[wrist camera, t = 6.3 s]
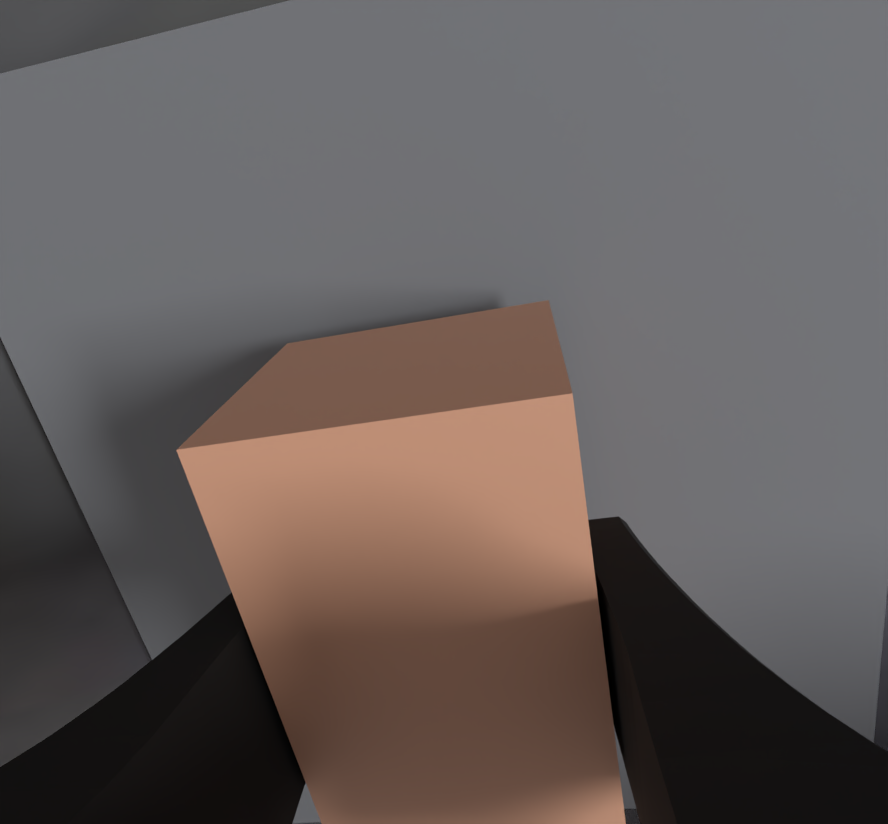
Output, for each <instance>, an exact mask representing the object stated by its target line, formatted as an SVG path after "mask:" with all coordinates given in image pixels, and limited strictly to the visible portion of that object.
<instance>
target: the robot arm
mask: <svg viewBox="0 0 888 824" xmlns="http://www.w3.org/2000/svg"><path fill="white" fill-rule="evenodd" d="M588 522H589V530H590V538H591V546H592V554H593V563H594V571H595V579H596V587H597V595H598V603H599V611H600V619H601V627H602V635H603V643H604V651H605V660H606V668H607V676H608V684H609V692H610V700H611V708H612V716H613V724H614V728H615V732H616V736H617V739H618V743H619V746H620V750H621V754H622V757H623V761H624V765H625V768H626V772H627V776H628V779H629V783H630V787H631V790H632V794H633V798H634V801H635V805H636V809H637V812H638V816H639V820H640V823H641V824H888V752H887V751H886V750H884V749H883V748H881V747H880V746H878V745H876V744H875V743H873V742H872V741H870V740H869V739H867V738H866V737H864V736H863V735H861V734H860V733H858V732H857V731H855V730H854V729H852V728H850V727H849V726H847V725H846V724H844V723H843V722H841V721H840V720H838V719H837V718H835V717H834V716H832V715H831V714H829V713H828V712H826V711H825V710H823V709H822V708H821V707H819V706H818V705H817V704H815V703H814V702H813V701H811V700H810V699H808V698H807V697H806V696H804V695H803V694H802V693H800V692H799V691H797V690H796V689H795V688H793V687H792V686H791V685H789V684H788V683H787V682H786V681H784V680H783V679H782V678H781V677H779V676H778V675H777V674H775V673H774V672H773V671H772V670H770V669H769V668H768V667H767V666H765V665H764V664H763V663H762V662H760V661H759V660H758V659H757V658H756V657H754V656H753V655H752V654H751V653H750V652H748V651H747V650H746V649H745V648H744V647H743V646H741V645H740V644H739V643H738V642H737V641H736V640H734V639H733V638H732V637H731V636H730V635H729V634H728V633H727V632H726V631H725V630H723V629H722V628H721V627H720V626H719V625H718V624H717V623H716V622H715V621H714V620H713V619H711V618H710V617H709V616H708V615H707V614H706V613H705V612H704V611H703V610H702V609H701V608H700V607H699V606H698V605H697V604H696V603H695V602H694V601H693V600H692V599H691V598H690V597H689V596H688V595H687V594H686V593H685V592H684V591H683V590H682V589H681V587H680V586H679V585H678V584H677V583H676V582H675V581H674V580H673V579H672V578H671V577H670V576H669V575H668V574H667V573H666V572H665V570H664V569H663V568H662V567H661V566H660V565H659V564H658V563H657V561H656V560H655V559H654V558H653V557H652V555H651V554H650V553H649V552H648V551H647V549H646V548H645V547H644V546H643V544H642V543H641V542H640V541H639V539H638V538H637V537H636V535H635V534H634V533H633V531H632V530H631V529H630V527H629V526H628V524H627V522H625V521H624V520H623V519H621V518H620V517H619V516H618V517H609V518H600V519H591V520H588ZM305 783H306V782H305V779H304V777H303V774H302V772H301V769H300V766H299V764H298V761H297V759H296V756H295V754H294V751H293V749H292V746H291V743H290V741H289V738H288V736H287V733H286V731H285V728H284V725H283V723H282V720H281V718H280V715H279V713H278V710H277V707H276V705H275V702H274V700H273V697H272V695H271V692H270V689H269V687H268V684H267V682H266V679H265V677H264V674H263V671H262V669H261V666H260V664H259V661H258V659H257V656H256V653H255V651H254V648H253V646H252V643H251V641H250V638H249V635H248V633H247V630H246V628H245V625H244V623H243V620H242V617H241V615H240V612H239V610H238V607H237V605H236V602H235V599H234V597H233V594H232V592H231V593H230V594H229V595H228V596H227V597H226V598H224V599H223V600H222V601H221V602H220V603H219V604H218V605H217V606H215V607H214V608H213V609H212V610H211V611H210V612H209V613H207V614H206V615H205V616H204V617H203V618H202V619H200V620H199V621H198V622H197V623H196V624H195V625H194V626H192V627H191V628H190V629H189V630H188V631H187V632H186V633H184V634H183V635H182V636H181V637H180V638H178V639H177V640H176V641H175V642H174V643H172V644H171V645H170V646H169V647H167V648H166V649H165V650H164V651H163V652H161V653H160V654H159V655H158V656H156V657H155V658H154V659H153V660H151V661H150V662H149V663H148V664H147V665H145V666H144V667H143V668H142V669H140V670H139V671H138V672H137V673H136V674H134V675H133V676H132V677H131V678H129V679H128V680H127V681H126V682H124V683H123V684H122V685H120V686H119V687H118V688H116V689H115V690H114V691H113V692H111V693H110V694H108V695H107V696H106V697H104V698H103V699H102V700H100V701H99V702H98V703H96V704H95V705H94V706H92V707H91V708H89V709H88V710H86V711H85V712H84V713H82V714H81V715H79V716H78V717H77V718H75V719H74V720H72V721H71V722H69V723H68V724H67V725H65V726H64V727H62V728H61V729H59V730H58V731H56V732H55V733H54V734H52V735H51V736H49V737H48V738H46V739H45V740H43V741H42V742H40V743H38V744H37V745H35V746H34V747H32V748H30V749H29V750H27V751H26V752H24V753H22V754H21V755H19V756H18V757H16V758H14V759H13V760H11V761H10V762H8V763H6V764H5V765H3V766H2V767H0V824H292V823H293V820H294V817H295V814H296V811H297V808H298V804H299V801H300V798H301V795H302V792H303V789H304V786H305Z"/></svg>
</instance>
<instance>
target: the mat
mask: <svg viewBox="0 0 888 824" xmlns="http://www.w3.org/2000/svg"><path fill="white" fill-rule="evenodd" d="M546 300H549V304H550V308H551V311H552V315H553V319H554V323H555V327H556V331H557V335H558V339H559V343H560V346H561V350H562V354H563V358H564V362H565V366H566V370H567V374H568V378H569V381H570V385H571V389H572V393H573V401H574V409H575V417H576V425H577V433H578V441H579V449H580V457H581V466H582V474H583V482H584V490H585V498H586V506H587V514H588V520H591V519H600V518H609V517H618V516H619V517H620V518H621V519H623V520H624V521H625V522H627V524H628V526H629V527H630V529H631V530H632V531H633V533H634V534H635V535H636V537H637V538H638V539H639V541H640V542H641V543H642V544H643V546H644V547H645V548H646V549H647V551H648V552H649V553H650V554H651V555H652V557H653V558H654V559H655V560H656V561H657V563H658V564H659V565H660V566H661V567H662V568H663V569H664V570H665V572H666V573H667V574H668V575H669V576H670V577H671V578H672V579H673V580H674V581H675V582H676V583H677V584H678V585H679V586H680V587H681V589H682V590H683V591H684V592H685V593H686V594H687V595H688V596H689V597H690V598H691V599H692V600H693V601H694V602H695V603H696V604H697V605H698V606H699V607H700V608H701V609H702V610H703V611H704V612H705V613H706V614H707V615H708V616H709V617H710V618H711V619H713V620H714V621H715V622H716V623H717V624H718V625H719V626H720V627H721V628H722V629H723V630H725V631H726V632H727V633H728V634H729V635H730V636H731V637H732V638H733V639H734V640H736V641H737V642H738V643H739V644H740V645H741V646H743V647H744V648H745V649H746V650H747V651H748V652H750V653H751V654H752V655H753V656H754V657H756V658H757V659H758V660H759V661H760V662H762V663H763V664H764V665H765V666H767V667H768V668H769V669H770V670H772V671H773V672H774V673H775V674H777V675H778V676H779V677H781V678H782V679H783V680H784V681H786V682H787V683H788V684H789V685H791V686H792V687H793V688H795V689H796V690H797V691H799V692H800V693H802V694H803V695H804V696H806V697H807V698H808V699H810V700H811V701H813V702H814V703H815V704H817V705H818V706H819V707H821V708H822V709H823V710H825V711H826V712H828V713H829V714H831V715H832V716H834V717H835V718H837V719H838V720H840V721H841V722H843V723H844V724H846V725H847V726H849V727H850V728H852V729H854V730H855V731H857V732H858V733H860V734H861V735H863V736H864V737H866V738H867V739H869V740H870V741H872V742H873V743H874V736H875V724H876V713H877V701H878V690H879V678H880V667H881V655H882V644H883V632H884V621H885V610H886V598H887V587H888V0H289V1H285V2H281V3H278V4H274V5H270V6H266V7H262V8H258V9H254V10H250V11H246V12H242V13H238V14H234V15H230V16H226V17H222V18H218V19H214V20H210V21H206V22H202V23H198V24H195V25H191V26H187V27H183V28H179V29H175V30H171V31H167V32H163V33H159V34H155V35H151V36H147V37H143V38H139V39H135V40H131V41H127V42H123V43H119V44H116V45H112V46H108V47H104V48H100V49H96V50H92V51H88V52H84V53H80V54H76V55H72V56H68V57H64V58H60V59H56V60H52V61H48V62H44V63H40V64H36V65H33V66H29V67H25V68H21V69H17V70H13V71H9V72H5V73H1V74H0V338H1V340H2V342H3V344H4V346H5V348H6V350H7V353H8V355H9V357H10V359H11V361H12V363H13V365H14V367H15V370H16V372H17V374H18V376H19V378H20V380H21V382H22V384H23V387H24V389H25V391H26V393H27V395H28V397H29V399H30V401H31V404H32V406H33V408H34V410H35V412H36V414H37V416H38V418H39V421H40V423H41V425H42V427H43V429H44V431H45V433H46V435H47V438H48V440H49V442H50V444H51V446H52V448H53V450H54V452H55V455H56V457H57V459H58V461H59V463H60V465H61V467H62V469H63V472H64V474H65V476H66V478H67V480H68V482H69V484H70V486H71V489H72V491H73V493H74V495H75V497H76V499H77V501H78V503H79V506H80V508H81V510H82V512H83V514H84V516H85V518H86V521H87V523H88V525H89V527H90V529H91V531H92V533H93V535H94V538H95V540H96V542H97V544H98V546H99V548H100V550H101V552H102V555H103V557H104V559H105V561H106V563H107V565H108V567H109V569H110V572H111V574H112V576H113V578H114V580H115V582H116V584H117V586H118V589H119V591H120V593H121V595H122V597H123V599H124V601H125V603H126V606H127V608H128V610H129V612H130V614H131V616H132V618H133V620H134V623H135V625H136V627H137V629H138V631H139V633H140V635H141V637H142V640H143V642H144V644H145V646H146V648H147V650H148V652H149V654H150V657H151V659H152V660H153V659H154V658H155V657H156V656H158V655H159V654H160V653H161V652H163V651H164V650H165V649H166V648H167V647H169V646H170V645H171V644H172V643H174V642H175V641H176V640H177V639H178V638H180V637H181V636H182V635H183V634H184V633H186V632H187V631H188V630H189V629H190V628H191V627H192V626H194V625H195V624H196V623H197V622H198V621H199V620H200V619H202V618H203V617H204V616H205V615H206V614H207V613H209V612H210V611H211V610H212V609H213V608H214V607H215V606H217V605H218V604H219V603H220V602H221V601H222V600H223V599H224V598H226V597H227V596H228V595H229V594H230V593H231V589H230V587H229V584H228V582H227V579H226V576H225V574H224V571H223V569H222V566H221V564H220V561H219V558H218V556H217V553H216V551H215V548H214V546H213V543H212V540H211V538H210V535H209V533H208V530H207V528H206V525H205V522H204V520H203V517H202V515H201V512H200V510H199V507H198V504H197V502H196V499H195V497H194V494H193V492H192V489H191V486H190V484H189V481H188V479H187V476H186V474H185V471H184V468H183V466H182V463H181V461H180V458H179V456H178V453H177V449H178V448H179V447H180V446H181V445H182V444H183V443H184V442H185V441H186V440H187V439H188V438H189V437H190V436H191V435H192V434H193V433H194V432H195V431H196V430H197V429H199V428H200V427H201V426H202V425H203V424H204V423H205V422H206V421H207V420H208V419H209V418H210V417H211V416H212V415H213V414H214V413H215V412H216V411H217V410H218V409H219V408H220V407H221V406H222V405H224V404H225V403H226V402H227V401H228V400H229V399H230V398H231V397H232V396H233V395H234V394H235V393H236V392H237V391H238V390H239V389H240V388H241V387H242V386H243V385H244V384H245V383H246V382H248V381H249V380H250V379H251V378H252V377H253V376H254V375H255V374H256V373H257V372H258V371H259V370H260V369H261V368H262V367H263V366H264V365H265V364H266V363H267V362H268V361H269V360H270V359H271V358H273V357H274V356H275V355H276V354H277V353H278V352H279V351H280V350H281V349H282V348H283V347H284V346H285V345H286V344H287V343H293V342H299V341H305V340H311V339H317V338H323V337H329V336H335V335H341V334H347V333H353V332H359V331H365V330H371V329H377V328H383V327H389V326H395V325H401V324H407V323H413V322H419V321H425V320H431V319H437V318H443V317H449V316H455V315H461V314H468V313H474V312H480V311H486V310H492V309H498V308H504V307H510V306H516V305H522V304H528V303H534V302H540V301H546ZM614 732H615V728H614ZM615 740H616V748H617V757H618V765H619V773H620V781H621V789H622V797H623V805H624V809H636V805H635V801H634V798H633V794H632V790H631V787H630V783H629V779H628V776H627V772H626V768H625V765H624V761H623V757H622V754H621V750H620V746H619V743H618V739H617V736H616V732H615ZM312 822H321V820H320V818H319V815H318V813H317V810H316V808H315V805H314V802H313V800H312V797H311V795H310V792H309V790H308V787H307V784H306V783H305V786H304V789H303V792H302V795H301V798H300V801H299V804H298V808H297V811H296V814H295V817H294V820H293V823H312Z"/></svg>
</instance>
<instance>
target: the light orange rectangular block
mask: <svg viewBox="0 0 888 824" xmlns="http://www.w3.org/2000/svg"><path fill="white" fill-rule="evenodd" d="M177 453H178V456H179V458H180V461H181V463H182V466H183V468H184V471H185V474H186V476H187V479H188V481H189V484H190V486H191V489H192V492H193V494H194V497H195V499H196V502H197V504H198V507H199V510H200V512H201V515H202V517H203V520H204V522H205V525H206V528H207V530H208V533H209V535H210V538H211V540H212V543H213V546H214V548H215V551H216V553H217V556H218V558H219V561H220V564H221V566H222V569H223V571H224V574H225V576H226V579H227V582H228V584H229V587H230V589H231V592H232V594H233V597H234V599H235V602H236V605H237V607H238V610H239V612H240V615H241V617H242V620H243V623H244V625H245V628H246V630H247V633H248V635H249V638H250V641H251V643H252V646H253V648H254V651H255V653H256V656H257V659H258V661H259V664H260V666H261V669H262V671H263V674H264V677H265V679H266V682H267V684H268V687H269V689H270V692H271V695H272V697H273V700H274V702H275V705H276V707H277V710H278V713H279V715H280V718H281V720H282V723H283V725H284V728H285V731H286V733H287V736H288V738H289V741H290V743H291V746H292V749H293V751H294V754H295V756H296V759H297V761H298V764H299V766H300V769H301V772H302V774H303V777H304V779H305V782H306V784H307V787H308V790H309V792H310V795H311V797H312V800H313V802H314V805H315V808H316V810H317V813H318V815H319V818H320V820H321V823H322V824H626V821H625V813H624V805H623V797H622V789H621V781H620V773H619V765H618V757H617V748H616V740H615V732H614V724H613V716H612V708H611V700H610V692H609V684H608V676H607V668H606V660H605V651H604V643H603V635H602V627H601V619H600V611H599V603H598V595H597V587H596V579H595V571H594V563H593V554H592V546H591V538H590V530H589V522H588V514H587V506H586V498H585V490H584V482H583V474H582V466H581V457H580V449H579V441H578V433H577V425H576V417H575V409H574V401H573V393H572V389H571V385H570V381H569V378H568V374H567V370H566V366H565V362H564V358H563V354H562V350H561V346H560V343H559V339H558V335H557V331H556V327H555V323H554V319H553V315H552V311H551V308H550V304H549V300H546V301H540V302H534V303H528V304H522V305H516V306H510V307H504V308H498V309H492V310H486V311H480V312H474V313H468V314H461V315H455V316H449V317H443V318H437V319H431V320H425V321H419V322H413V323H407V324H401V325H395V326H389V327H383V328H377V329H371V330H365V331H359V332H353V333H347V334H341V335H335V336H329V337H323V338H317V339H311V340H305V341H299V342H293V343H287V344H286V345H285V346H284V347H283V348H282V349H281V350H280V351H279V352H278V353H277V354H276V355H275V356H274V357H273V358H271V359H270V360H269V361H268V362H267V363H266V364H265V365H264V366H263V367H262V368H261V369H260V370H259V371H258V372H257V373H256V374H255V375H254V376H253V377H252V378H251V379H250V380H249V381H248V382H246V383H245V384H244V385H243V386H242V387H241V388H240V389H239V390H238V391H237V392H236V393H235V394H234V395H233V396H232V397H231V398H230V399H229V400H228V401H227V402H226V403H225V404H224V405H222V406H221V407H220V408H219V409H218V410H217V411H216V412H215V413H214V414H213V415H212V416H211V417H210V418H209V419H208V420H207V421H206V422H205V423H204V424H203V425H202V426H201V427H200V428H199V429H197V430H196V431H195V432H194V433H193V434H192V435H191V436H190V437H189V438H188V439H187V440H186V441H185V442H184V443H183V444H182V445H181V446H180V447H179V448H178V449H177Z"/></svg>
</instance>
